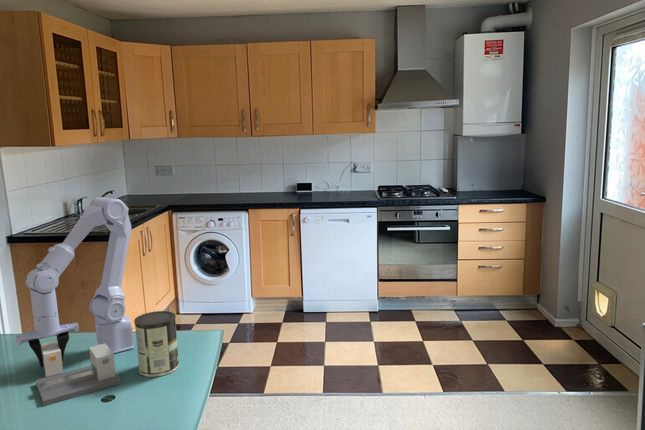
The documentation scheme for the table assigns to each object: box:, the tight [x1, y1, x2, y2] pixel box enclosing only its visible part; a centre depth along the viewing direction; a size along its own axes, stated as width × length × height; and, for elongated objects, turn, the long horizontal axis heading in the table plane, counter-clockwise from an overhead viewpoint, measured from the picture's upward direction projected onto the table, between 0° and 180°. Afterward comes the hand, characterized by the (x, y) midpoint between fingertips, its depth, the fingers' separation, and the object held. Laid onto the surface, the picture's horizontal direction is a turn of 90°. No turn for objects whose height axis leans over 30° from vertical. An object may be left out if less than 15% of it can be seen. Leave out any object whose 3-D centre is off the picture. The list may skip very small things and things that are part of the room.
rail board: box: [35, 343, 121, 407], centre depth 127 cm, size 17×13×7 cm
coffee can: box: [133, 310, 180, 378], centre depth 134 cm, size 10×10×14 cm
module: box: [40, 340, 64, 377], centre depth 135 cm, size 4×9×6 cm, turn 36°
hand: (51, 363), depth 136 cm, fingers closed on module, 4 cm apart
